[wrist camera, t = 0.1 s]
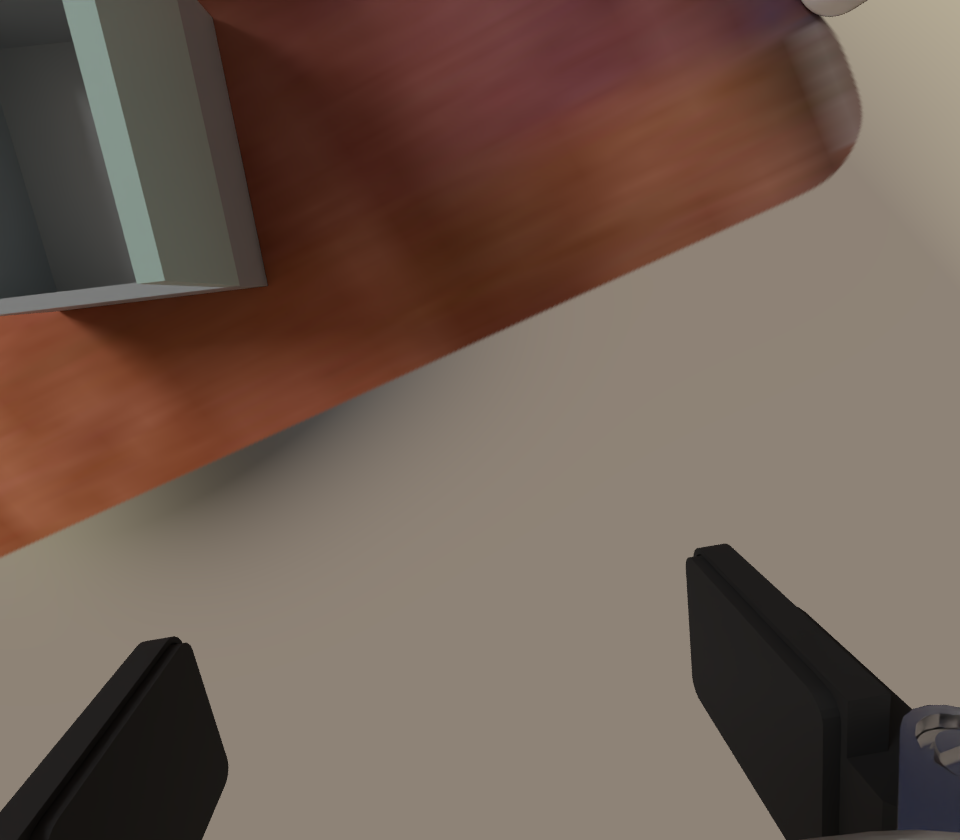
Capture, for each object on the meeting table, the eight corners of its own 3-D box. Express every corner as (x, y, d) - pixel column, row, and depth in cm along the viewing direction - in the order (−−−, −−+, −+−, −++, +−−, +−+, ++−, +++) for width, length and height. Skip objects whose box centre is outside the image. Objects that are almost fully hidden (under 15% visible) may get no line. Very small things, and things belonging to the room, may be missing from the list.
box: (-23, 42, 34) (-157, -27, 26) (212, 17, 34) (147, -57, 27) (58, 311, 38) (-38, 319, 30) (267, 285, 38) (225, 287, 31)
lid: (-46, -410, 13) (-8, -406, 13) (146, -59, 26) (164, -59, 27) (136, 283, 17) (165, 280, 17) (224, 287, 30) (239, 285, 31)
